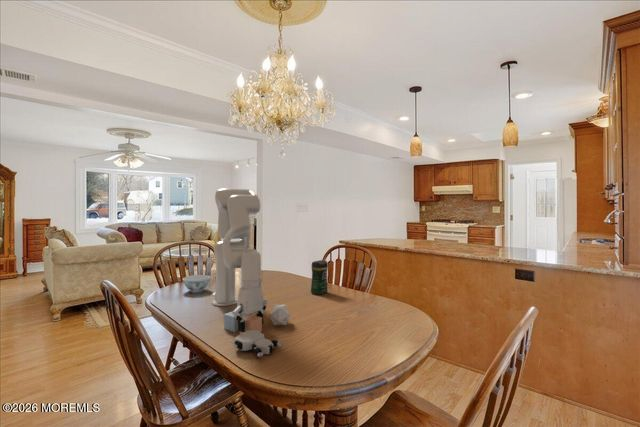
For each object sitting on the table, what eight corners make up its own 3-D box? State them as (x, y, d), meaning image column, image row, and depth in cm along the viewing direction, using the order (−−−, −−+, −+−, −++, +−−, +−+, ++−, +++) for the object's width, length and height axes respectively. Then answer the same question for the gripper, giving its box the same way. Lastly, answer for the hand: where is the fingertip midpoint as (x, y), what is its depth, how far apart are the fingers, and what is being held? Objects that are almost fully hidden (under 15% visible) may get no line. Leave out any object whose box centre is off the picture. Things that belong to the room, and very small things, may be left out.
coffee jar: (319, 295, 176) (319, 262, 175) (308, 293, 180) (308, 260, 180) (330, 292, 183) (330, 260, 183) (319, 289, 188) (319, 258, 188)
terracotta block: (239, 334, 123) (239, 318, 123) (250, 329, 128) (251, 314, 128) (250, 337, 120) (250, 322, 120) (261, 332, 125) (261, 317, 125)
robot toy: (284, 351, 111) (253, 338, 119) (284, 338, 111) (253, 326, 119) (258, 365, 101) (227, 350, 109) (259, 352, 100) (227, 337, 109)
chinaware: (178, 290, 184) (178, 277, 184) (204, 286, 194) (204, 273, 194) (188, 296, 173) (188, 282, 173) (214, 291, 183) (214, 278, 183)
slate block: (224, 328, 128) (224, 314, 128) (235, 324, 133) (235, 310, 133) (234, 332, 125) (234, 317, 125) (245, 327, 130) (245, 312, 130)
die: (281, 331, 128) (294, 309, 131) (263, 319, 129) (277, 298, 132) (283, 330, 135) (295, 310, 138) (266, 319, 137) (279, 299, 140)
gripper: (259, 278, 133) (259, 319, 133) (226, 286, 118) (226, 332, 119) (273, 280, 128) (273, 322, 129) (240, 289, 114) (240, 337, 114)
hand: (250, 327), depth 124 cm, fingers open, 9 cm apart
